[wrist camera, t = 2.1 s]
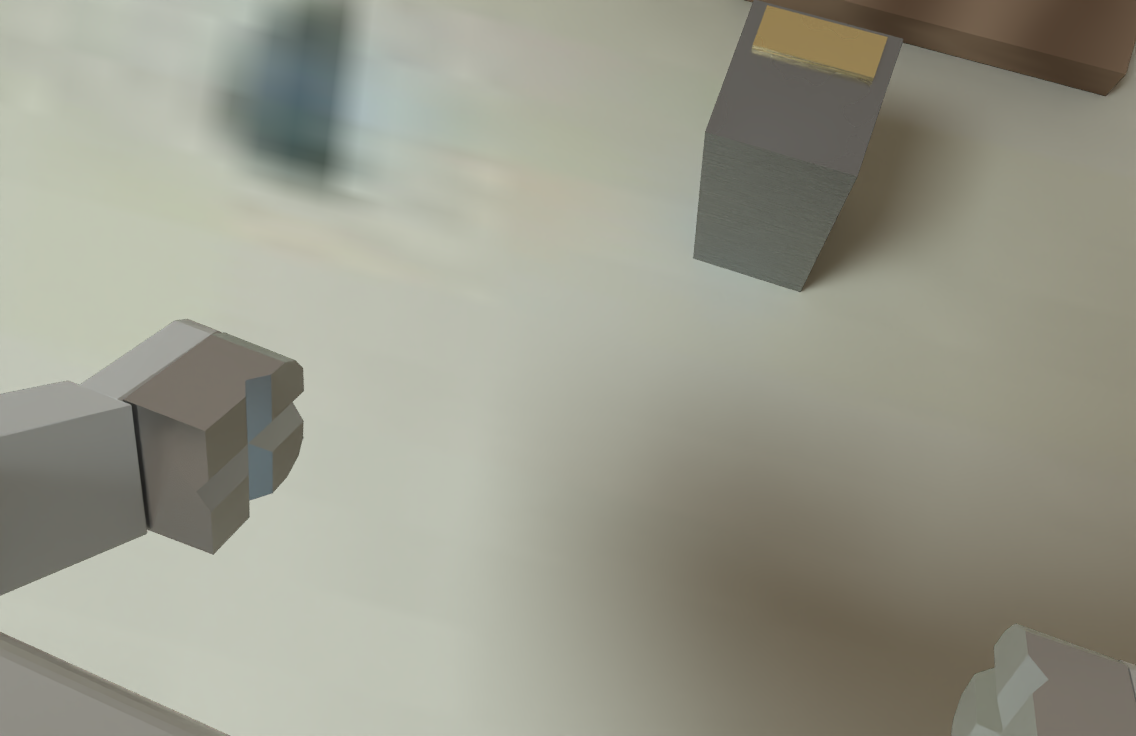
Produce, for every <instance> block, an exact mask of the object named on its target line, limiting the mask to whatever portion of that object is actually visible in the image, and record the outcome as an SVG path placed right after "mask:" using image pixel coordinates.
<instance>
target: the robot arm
mask: <svg viewBox="0 0 1136 736" xmlns="http://www.w3.org/2000/svg"><path fill="white" fill-rule="evenodd" d="M303 391H304V379H303V367H302V366H301V365H300V364H299V363H298V362H297V361H296V360H293V359H291V358H288V357H286V356H283V355H281V354H278V353H275V352H273V351H270V350H268V349H265V348H263V347H260V346H258V345H255V344H253V343H250V342H247V341H245V340H242V339H240V338H237V337H235V336H232V335H230V334H227V333H221V332H219V331H217V330H215V329H212V328H210V327H207V326H205V325H202V324H199V323H197V322H194V321H192V320H189V319H183V320H175V321H173V322H171V323H170V324H168V325H167V326H165V327H164V328H163V329H161V330H160V331H158V332H157V333H155V334H154V335H152V336H151V337H149V338H148V339H146V340H145V341H143V342H142V343H140V344H139V345H137V346H136V347H134V348H133V349H132V350H130V351H129V352H127V353H126V354H124V355H123V356H121V357H120V358H118V359H117V360H115V361H114V362H112V363H111V364H109V365H108V366H106V367H105V368H103V369H102V370H101V371H99V372H98V373H96V374H95V375H93V376H92V377H90V378H89V379H87V380H86V381H84V382H83V383H81V384H80V385H79V384H76V383H74V382H71V381H63V382H58V383H53V384H48V385H43V386H38V387H33V388H28V389H23V390H18V391H13V392H8V393H3V394H0V595H3V594H5V593H8V592H10V591H12V590H15V589H17V588H19V587H22V586H24V585H26V584H29V583H31V582H34V581H36V580H38V579H41V578H43V577H45V576H48V575H50V574H53V573H55V572H57V571H60V570H62V569H64V568H67V567H69V566H72V565H74V564H76V563H79V562H81V561H83V560H86V559H88V558H91V557H93V556H95V555H98V554H100V553H102V552H105V551H107V550H110V549H112V548H114V547H117V546H119V545H121V544H124V543H126V542H129V541H131V540H133V539H136V538H138V537H140V536H143V535H145V534H147V530H150V531H152V532H155V533H158V534H160V535H163V536H166V537H168V538H171V539H174V540H176V541H179V542H181V543H184V544H187V545H189V546H192V547H195V548H197V549H200V550H203V551H205V552H208V553H210V554H213V555H214V554H215V553H216V552H217V550H218V549H219V548H220V547H221V546H222V545H223V544H224V543H225V542H226V541H227V540H228V539H229V538H230V537H231V536H232V535H233V534H234V533H235V532H236V531H237V530H238V529H239V528H240V527H241V526H242V525H243V524H244V522H245V521H246V520H247V519H248V518H249V517H250V514H249V500H252V499H256V498H259V497H262V496H265V495H268V494H271V493H273V492H274V491H275V490H276V489H277V488H278V487H279V485H280V484H281V483H282V482H283V481H284V480H285V479H286V478H287V476H288V474H289V473H290V471H291V469H292V467H293V465H294V463H295V461H296V459H297V458H298V456H299V452H300V448H301V444H302V440H303V422H304V421H303V419H302V417H301V416H300V414H299V412H298V411H297V409H296V407H295V405H294V404H293V401H294V400H295V399H296V398H297V397H298V396H299V395H300V394H301V393H302V392H303ZM994 660H995V668H992V669H989V670H985V671H982V672H979V673H976V674H974V676H973V678H972V679H971V681H970V682H969V684H968V685H967V687H966V689H965V690H964V692H963V693H962V695H961V698H960V701H959V704H958V707H957V710H956V712H955V715H954V718H953V724H952V731H951V736H1136V665H1135V664H1132V663H1129V662H1126V661H1123V660H1116V659H1114V658H1112V657H1109V656H1106V655H1103V654H1100V653H1098V652H1095V651H1092V650H1089V649H1086V648H1084V647H1081V646H1078V645H1075V644H1072V643H1070V642H1067V641H1064V640H1061V639H1058V638H1056V637H1053V636H1050V635H1047V634H1044V633H1042V632H1039V631H1036V630H1033V629H1030V628H1028V627H1025V626H1022V625H1019V624H1017V623H1015V624H1014V625H1013V626H1011V627H1010V628H1008V629H1007V630H1005V632H1004V633H1003V634H1002V636H1001V637H1000V639H999V640H998V641H997V643H996V644H995V646H994ZM0 736H230V735H228V734H225V733H223V732H221V731H219V730H217V729H214V728H212V727H210V726H208V725H205V724H203V723H201V722H199V721H197V720H194V719H192V718H190V717H188V716H186V715H183V714H181V713H179V712H177V711H174V710H172V709H170V708H168V707H166V706H163V705H161V704H159V703H157V702H154V701H152V700H150V699H148V698H146V697H143V696H141V695H139V694H137V693H135V692H132V691H130V690H128V689H126V688H123V687H121V686H119V685H117V684H115V683H112V682H110V681H108V680H106V679H104V678H101V677H99V676H97V675H95V674H92V673H90V672H88V671H86V670H84V669H81V668H79V667H77V666H75V665H72V664H70V663H68V662H66V661H64V660H61V659H59V658H57V657H55V656H53V655H50V654H48V653H46V652H44V651H41V650H39V649H37V648H35V647H33V646H30V645H28V644H26V643H24V642H22V641H19V640H17V639H15V638H13V637H10V636H8V635H6V634H4V633H2V632H0Z"/></svg>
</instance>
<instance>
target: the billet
mask: <svg viewBox="0 0 1136 736" xmlns="http://www.w3.org/2000/svg"><path fill="white" fill-rule="evenodd" d="M902 42H903V39H902V38H899V37H895V36H891V35H887V34H883V33H880V32H876V31H872V30H868V29H864V28H861V27H857V26H853V25H849V24H846V23H842V22H838V21H834V20H830V19H827V18H823V17H819V16H815V15H812V14H808V13H804V12H800V11H796V10H793V9H789V8H785V7H781V6H778V5H774V4H770V3H766V2H762V1H759V0H754V1H753V4H752V6H751V9H750V12H749V14H748V17H747V20H746V23H745V25H744V28H743V31H742V33H741V36H740V39H739V42H738V44H737V47H736V50H735V52H734V55H733V58H732V61H731V63H730V66H729V69H728V71H727V74H726V77H725V80H724V82H723V85H722V88H721V90H720V93H719V96H718V99H717V101H716V104H715V107H714V109H713V112H712V115H711V118H710V120H709V123H708V126H707V128H706V131H705V140H704V150H703V161H702V171H701V182H700V193H699V203H698V214H697V224H696V235H695V246H694V256H693V258H694V259H697V260H701V261H704V262H707V263H710V264H713V265H716V266H720V267H723V268H726V269H729V270H732V271H735V272H738V273H742V274H745V275H748V276H751V277H754V278H757V279H760V280H764V281H767V282H770V283H773V284H776V285H779V286H783V287H786V288H789V289H792V290H795V291H798V292H800V291H801V289H802V287H803V285H804V283H805V281H806V279H807V277H808V275H809V273H810V271H811V269H812V267H813V265H814V263H815V261H816V259H817V257H818V255H819V253H820V251H821V249H822V247H823V245H824V243H825V241H826V239H827V237H828V235H829V233H830V231H831V229H832V227H833V225H834V223H835V221H836V219H837V217H838V215H839V213H840V211H841V209H842V207H843V204H844V202H845V200H846V198H847V196H848V194H849V192H850V190H851V188H852V186H853V184H854V182H855V180H856V178H857V176H858V173H859V170H860V167H861V164H862V161H863V158H864V155H865V152H866V149H867V146H868V143H869V140H870V137H871V134H872V131H873V128H874V125H875V122H876V119H877V116H878V113H879V111H880V108H881V105H882V102H883V99H884V96H885V93H886V90H887V87H888V84H889V81H890V78H891V75H892V72H893V69H894V66H895V63H896V60H897V57H898V54H899V51H900V48H901V45H902Z"/></svg>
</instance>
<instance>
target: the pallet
mask: <svg viewBox="0 0 1136 736" xmlns="http://www.w3.org/2000/svg"><path fill="white" fill-rule="evenodd" d="M746 1H750V2H753V1H754V0H746ZM759 1H762V2H766V3H770V4H774V5H778V6H781V7H785V8H789V9H793V10H796V11H800V12H804V13H808V14H812V15H815V16H819V17H823V18H827V19H830V20H834V21H838V22H842V23H846V24H849V25H853V26H857V27H861V28H864V29H868V30H872V31H876V32H880V33H883V34H887V35H891V36H895V37H899V38H902V39H903V42H904V43H908V44H912V45H916V46H919V47H923V48H927V49H931V50H934V51H938V52H942V53H946V54H949V55H953V56H957V57H961V58H965V59H968V60H972V61H976V62H980V63H983V64H987V65H991V66H995V67H998V68H1002V69H1006V70H1010V71H1014V72H1017V73H1021V74H1025V75H1029V76H1032V77H1036V78H1040V79H1044V80H1047V81H1051V82H1055V83H1059V84H1063V85H1066V86H1070V87H1074V88H1078V89H1081V90H1085V91H1089V92H1093V93H1096V94H1100V95H1104V96H1106V95H1107V94H1108V93H1109V92H1110V91H1111V89H1112V88H1113V87H1114V86H1115V85H1116V84H1117V83H1118V82H1119V81H1120V80H1121V79H1122V78H1123V77H1124V76H1125V75H1126V72H1127V68H1128V65H1129V62H1130V58H1131V55H1132V51H1133V48H1134V44H1135V41H1136V0H759Z"/></svg>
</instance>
